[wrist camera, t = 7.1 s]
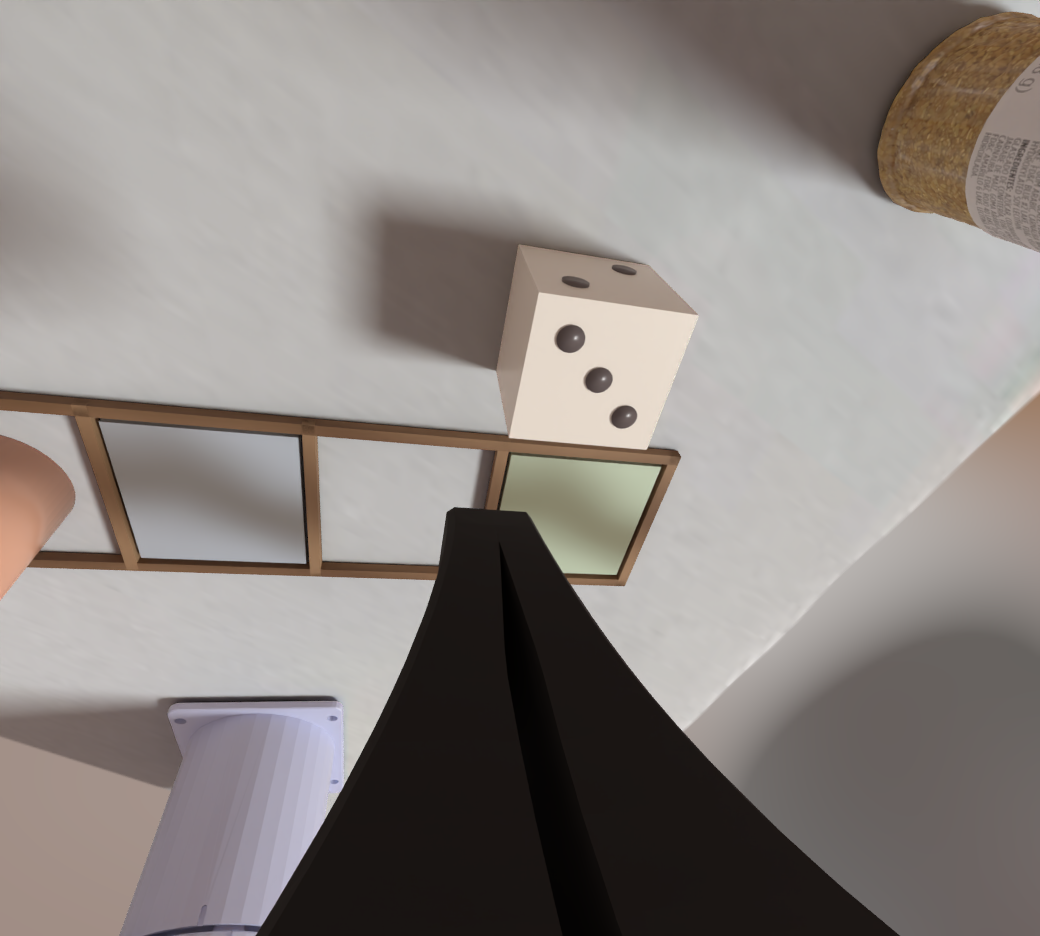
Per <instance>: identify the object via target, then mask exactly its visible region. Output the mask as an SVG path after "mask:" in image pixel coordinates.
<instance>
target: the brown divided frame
mask: <svg viewBox="0 0 1040 936" xmlns="http://www.w3.org/2000/svg"><path fill="white" fill-rule="evenodd" d="M0 410H7V411H19V412H31V413H43V414H56V415H68V416H75V419H76V422H77V425H78V428H79V431H80V434H81V436H82V439H83V442H84V445H85V448H86V451H87V454H88V457H89V460H90V463H91V466H92V469H93V472H94V475H95V477H96V480H97V483H98V486H99V489H100V492H101V495H102V498H103V501H104V504H105V507H106V510H107V513H108V516H109V519H110V521H111V524H112V527H113V530H114V533H115V536H116V539H117V542H118V545H119V548H120V551H121V554H122V555H114V554H87V553H60V552H38V554H37V555H36V556H35V557H34V559H33V560H32V561H31V562H30V564H29V565H28V566H27V567H37V568H69V569H100V570H132V571H163V572H195V573H227V574H258V575H290V576H322V577H353V578H385V579H416V580H436V577H437V574H438V568H439V566H413V565H386V564H358V563H331V562H322V545H321V519H320V493H319V467H318V442H317V436H323V437H336V438H348V439H360V440H372V441H384V442H397V443H409V444H421V445H433V446H445V447H457V448H470V449H482V450H494V451H495V456H494V461H493V466H492V471H491V476H490V482H489V487H488V492H487V497H486V502H485V507H484V509H489V510H497V505H498V501H499V496H500V491H501V486H502V482H503V477H504V472H505V467H506V463H507V458H508V453H509V452H510V456H509V461H508V466H507V470H506V475H505V480H504V484H503V489H502V494H501V498H500V503H499V508H498V510H505V511H521V512H527V514H528V515H529V516H530V517H531V519H532V521H533V522H534V524H535V526H536V528H537V529H538V531H539V533H540V535H541V537H542V538H543V540H544V542H545V544H546V545H547V547H548V549H549V550H550V552H551V554H552V555H553V557H554V559H555V560H556V562H557V564H558V565H559V567H560V569H561V570H562V572H563V573H564V575H565V577H566V578H567V580H568V581H569V583H570V584H574V585H606V586H625V584H626V582H627V579H628V577H629V575H630V573H631V570H632V568H633V566H634V563H635V561H636V559H637V557H638V554H639V552H640V550H641V547H642V545H643V543H644V541H645V538H646V536H647V534H648V532H649V529H650V527H651V525H652V522H653V520H654V518H655V516H656V513H657V511H658V509H659V506H660V504H661V502H662V500H663V497H664V495H665V493H666V491H667V488H668V486H669V484H670V481H671V479H672V477H673V475H674V472H675V470H676V468H677V465H678V463H679V461H680V459H681V456H680V454H679V453H678V451H674V450H662V449H651V448H647V450H642V449H630V448H619V447H607V446H596V445H584V444H573V443H561V442H550V441H538V440H527V439H515V438H509V436H504V435H492V434H481V433H470V432H458V431H447V430H436V429H424V428H413V427H402V426H390V425H379V424H367V423H356V422H345V421H333V420H322V419H311V418H299V417H288V416H277V415H265V414H254V413H243V412H231V411H220V410H209V409H197V408H186V407H175V406H163V405H152V404H141V403H129V402H118V401H107V400H95V399H84V398H73V397H61V396H50V395H39V394H27V393H16V392H5V391H0ZM99 418H101V419H100V421H99ZM300 435H302V443H303V460H304V477H305V494H306V511H307V529H308V546H309V562H307V541H306V525H305V508H304V492H303V475H302V459H301V443H300ZM660 464H662V465H660Z"/></svg>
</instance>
